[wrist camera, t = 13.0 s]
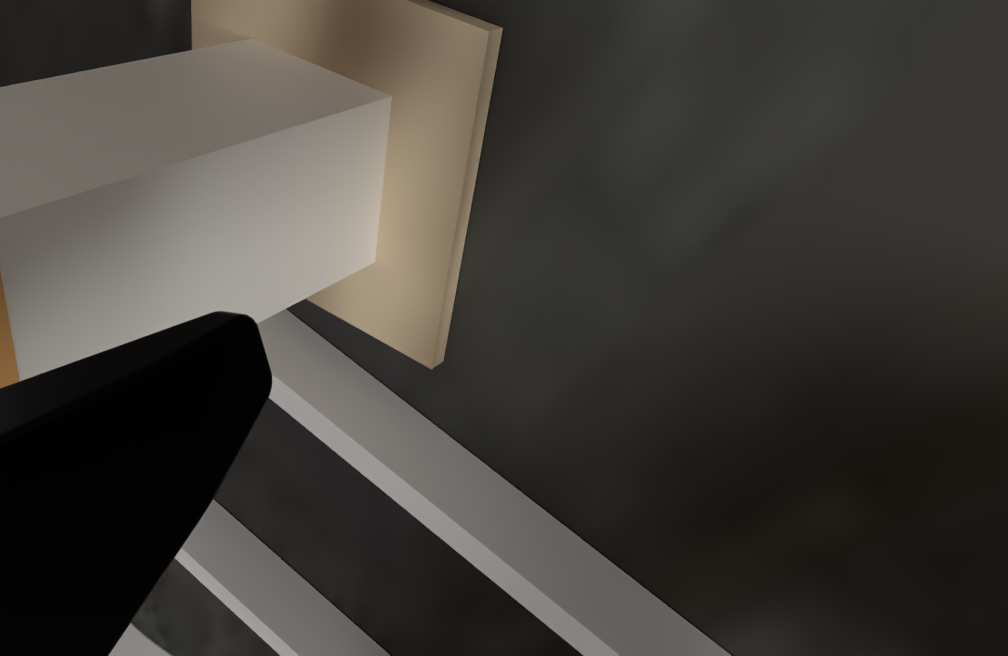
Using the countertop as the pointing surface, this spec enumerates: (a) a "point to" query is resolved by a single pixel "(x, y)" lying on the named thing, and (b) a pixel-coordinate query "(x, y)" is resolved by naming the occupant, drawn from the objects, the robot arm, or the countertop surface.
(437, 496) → the grey angled frame
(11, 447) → the robot arm
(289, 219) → the module
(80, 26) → the countertop surface
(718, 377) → the countertop surface
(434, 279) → the pad
